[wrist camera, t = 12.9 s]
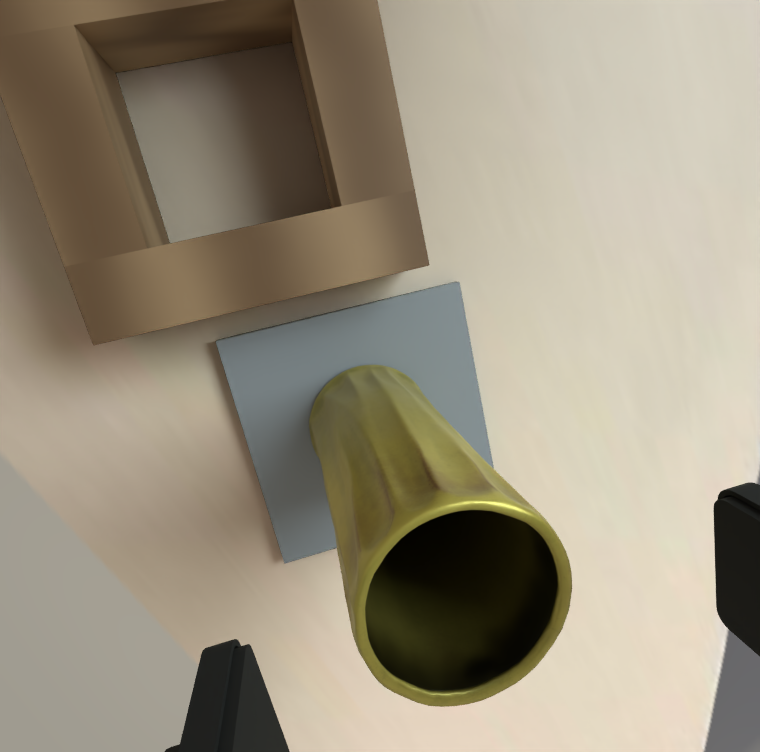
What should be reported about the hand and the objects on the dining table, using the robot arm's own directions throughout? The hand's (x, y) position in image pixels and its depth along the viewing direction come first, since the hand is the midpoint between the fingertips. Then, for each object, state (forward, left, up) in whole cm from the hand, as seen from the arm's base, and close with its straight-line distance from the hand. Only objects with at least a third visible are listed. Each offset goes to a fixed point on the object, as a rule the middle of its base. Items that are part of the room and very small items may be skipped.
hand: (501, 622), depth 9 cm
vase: (0, +1, -16) cm, 16 cm away
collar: (+3, -13, -16) cm, 21 cm away
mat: (0, +1, -16) cm, 16 cm away
